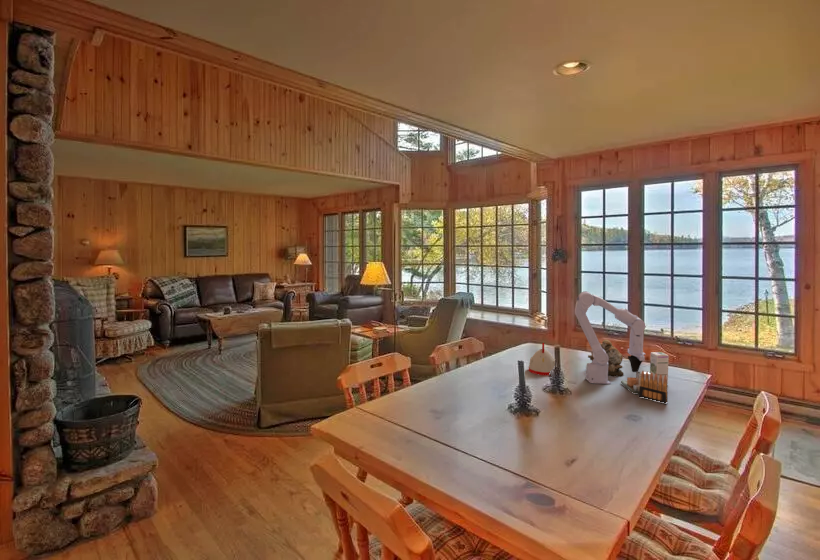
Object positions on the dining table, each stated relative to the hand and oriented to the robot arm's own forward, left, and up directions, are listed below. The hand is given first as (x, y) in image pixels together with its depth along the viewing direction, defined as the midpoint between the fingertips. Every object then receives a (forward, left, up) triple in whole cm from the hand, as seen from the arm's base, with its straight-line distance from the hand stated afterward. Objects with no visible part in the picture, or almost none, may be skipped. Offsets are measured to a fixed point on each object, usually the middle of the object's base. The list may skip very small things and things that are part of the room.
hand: (634, 371), depth 197 cm
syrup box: (+12, +3, -6) cm, 14 cm away
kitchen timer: (-39, +17, -6) cm, 43 cm away
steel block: (0, -10, -5) cm, 11 cm away
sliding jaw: (0, -6, -5) cm, 8 cm away
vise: (0, -7, -6) cm, 9 cm away
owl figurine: (-7, +19, -6) cm, 21 cm away
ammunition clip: (-1, -21, -6) cm, 22 cm away
